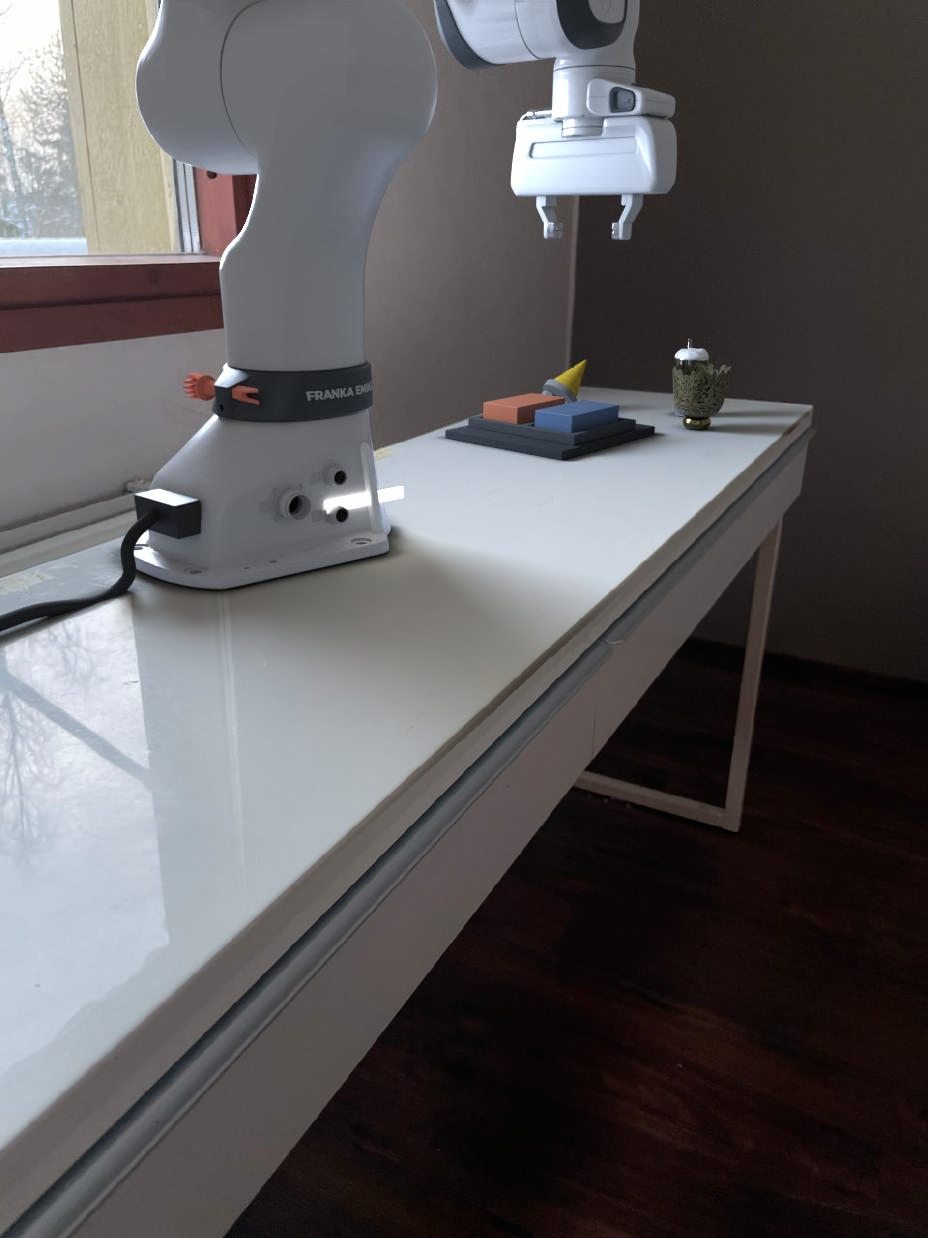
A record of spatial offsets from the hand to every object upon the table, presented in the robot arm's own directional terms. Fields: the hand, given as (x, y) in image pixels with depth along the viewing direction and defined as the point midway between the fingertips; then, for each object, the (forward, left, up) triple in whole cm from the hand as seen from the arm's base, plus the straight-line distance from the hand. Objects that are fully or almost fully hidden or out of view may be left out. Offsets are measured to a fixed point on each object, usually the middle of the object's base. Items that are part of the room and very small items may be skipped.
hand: (586, 239), depth 109 cm
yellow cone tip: (+16, +14, -23) cm, 31 cm away
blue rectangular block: (0, 0, -22) cm, 22 cm away
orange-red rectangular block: (0, +8, -22) cm, 24 cm away
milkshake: (+25, -1, -23) cm, 34 cm away
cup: (+17, -7, -23) cm, 30 cm away
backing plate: (0, +4, -23) cm, 23 cm away
